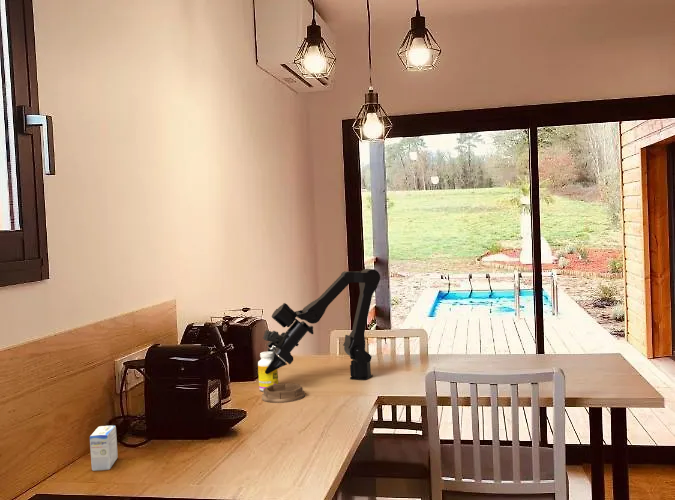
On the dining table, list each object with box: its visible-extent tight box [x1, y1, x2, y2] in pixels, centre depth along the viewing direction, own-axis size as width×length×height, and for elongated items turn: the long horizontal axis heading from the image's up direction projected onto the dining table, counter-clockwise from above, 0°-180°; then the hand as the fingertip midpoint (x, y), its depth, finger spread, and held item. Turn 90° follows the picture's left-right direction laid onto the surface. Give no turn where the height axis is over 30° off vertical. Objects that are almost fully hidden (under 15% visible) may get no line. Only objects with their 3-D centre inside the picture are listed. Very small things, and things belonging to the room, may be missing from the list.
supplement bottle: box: [257, 351, 279, 392], centre depth 232 cm, size 7×7×13 cm
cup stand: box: [261, 382, 305, 404], centre depth 222 cm, size 14×14×3 cm
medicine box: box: [89, 425, 118, 472], centre depth 166 cm, size 8×4×9 cm, turn 5°
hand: (263, 371), depth 232 cm, fingers closed on supplement bottle, 6 cm apart
